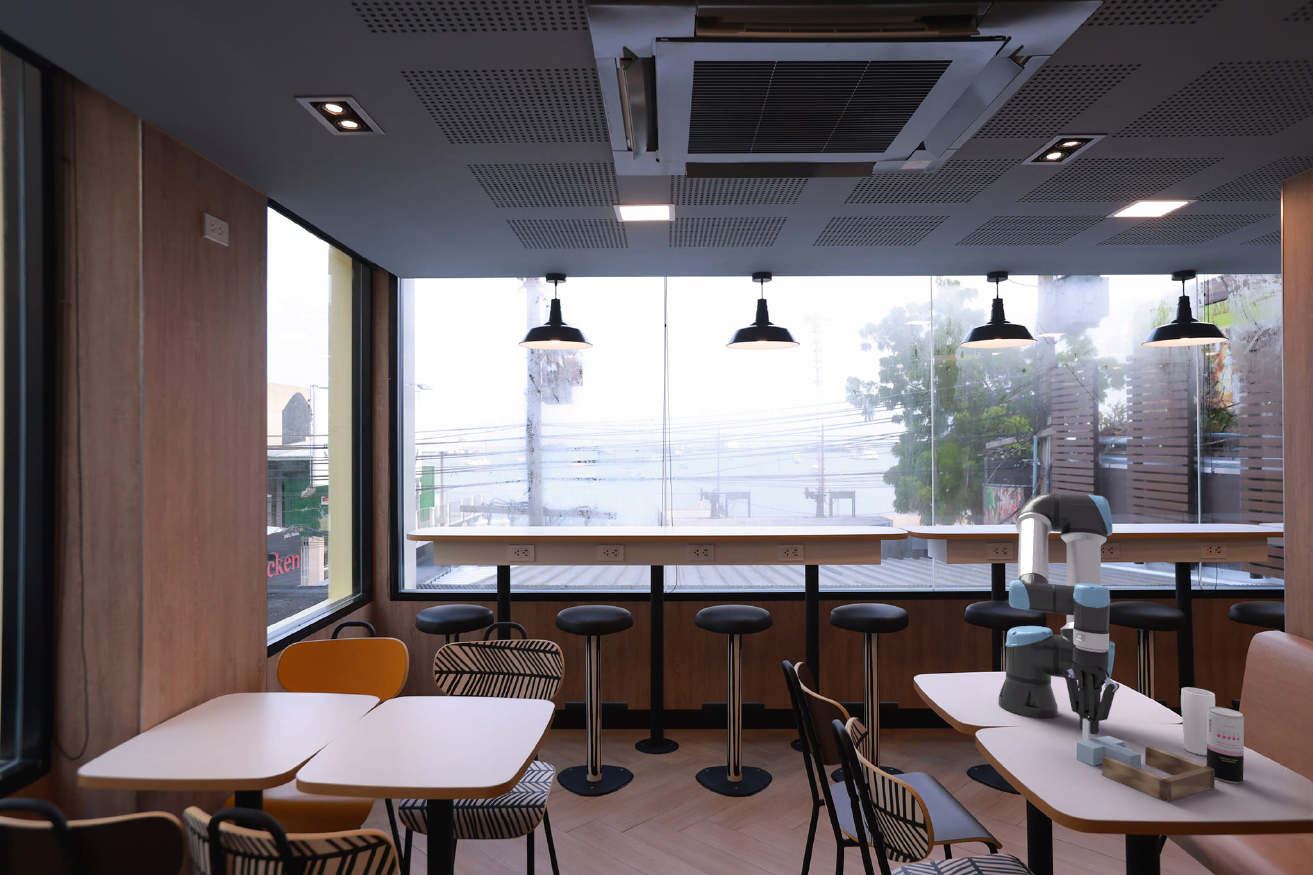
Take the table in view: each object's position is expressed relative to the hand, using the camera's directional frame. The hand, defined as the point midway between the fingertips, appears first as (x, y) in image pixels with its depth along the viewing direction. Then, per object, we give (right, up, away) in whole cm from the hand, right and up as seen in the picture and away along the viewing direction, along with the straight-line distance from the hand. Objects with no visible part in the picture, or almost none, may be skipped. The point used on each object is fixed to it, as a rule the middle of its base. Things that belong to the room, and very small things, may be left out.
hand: (1088, 745), depth 171 cm
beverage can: (+25, -3, -10) cm, 27 cm away
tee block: (+3, -2, -5) cm, 6 cm away
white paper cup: (+30, -4, +4) cm, 30 cm away
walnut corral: (+7, -2, -14) cm, 15 cm away
